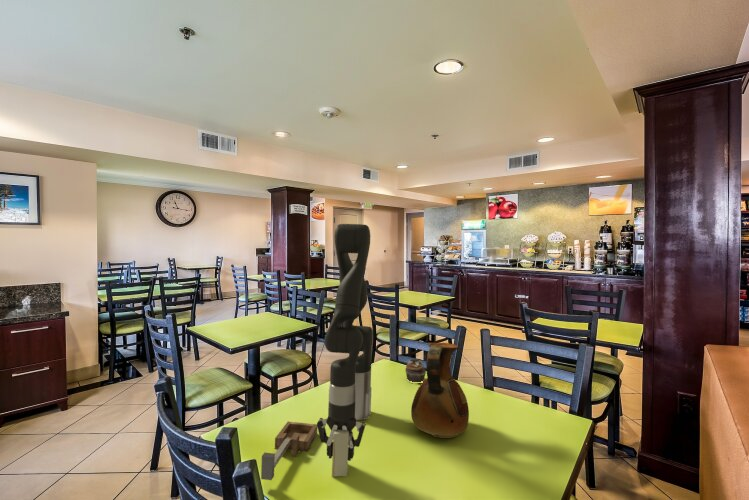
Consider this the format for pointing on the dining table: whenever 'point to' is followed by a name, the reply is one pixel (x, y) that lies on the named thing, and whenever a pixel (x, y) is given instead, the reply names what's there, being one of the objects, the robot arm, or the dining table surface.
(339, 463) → the skincare box
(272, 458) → the pin
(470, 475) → the dining table surface
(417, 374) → the cupcake
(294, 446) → the dock
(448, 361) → the ceramic pitcher
